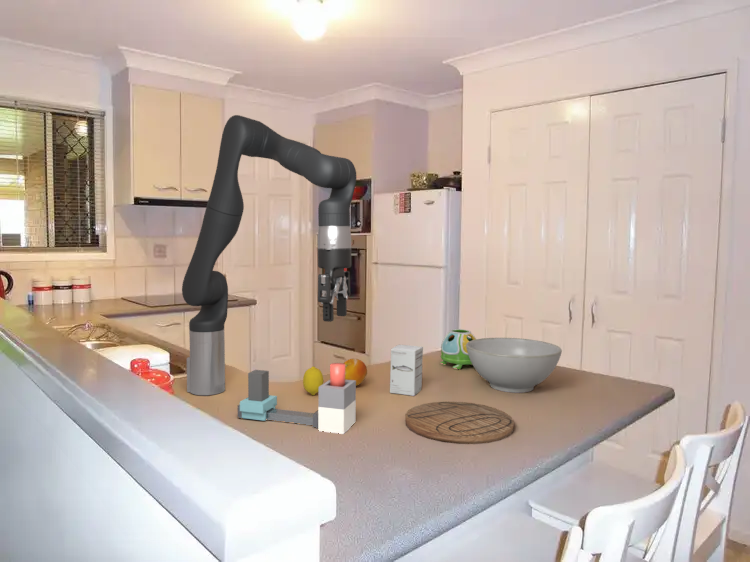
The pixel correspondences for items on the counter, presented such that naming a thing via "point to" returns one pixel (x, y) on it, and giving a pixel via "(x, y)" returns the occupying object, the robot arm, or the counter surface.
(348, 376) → the fruit
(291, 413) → the rail
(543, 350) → the decorative bowl
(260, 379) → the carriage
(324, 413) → the grey and white block
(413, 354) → the supplement box
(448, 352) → the turtle holder
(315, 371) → the lemon
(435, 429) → the trivet
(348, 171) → the robot arm
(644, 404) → the counter surface
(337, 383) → the button
